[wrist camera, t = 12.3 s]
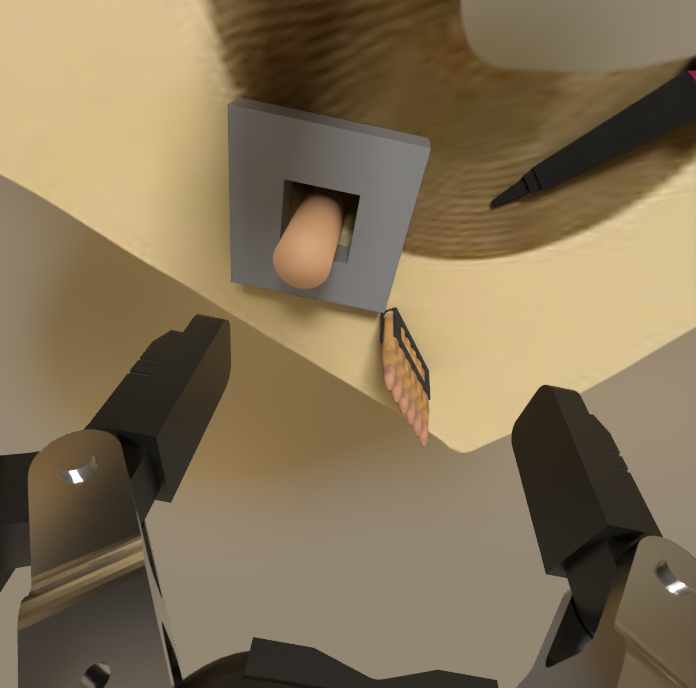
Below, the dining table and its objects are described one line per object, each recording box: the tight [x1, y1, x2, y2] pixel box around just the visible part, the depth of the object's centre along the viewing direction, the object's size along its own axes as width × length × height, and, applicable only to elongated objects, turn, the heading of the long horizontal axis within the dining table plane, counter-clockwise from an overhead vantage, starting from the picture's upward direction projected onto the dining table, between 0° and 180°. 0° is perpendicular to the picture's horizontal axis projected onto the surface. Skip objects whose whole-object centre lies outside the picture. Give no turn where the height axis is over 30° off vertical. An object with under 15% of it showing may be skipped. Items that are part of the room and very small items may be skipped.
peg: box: [273, 187, 346, 289], centre depth 34 cm, size 4×4×11 cm
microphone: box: [492, 67, 696, 207], centre depth 31 cm, size 6×6×20 cm
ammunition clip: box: [380, 307, 430, 447], centre depth 43 cm, size 11×2×12 cm, turn 27°
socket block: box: [228, 98, 431, 313], centre depth 37 cm, size 16×16×4 cm
